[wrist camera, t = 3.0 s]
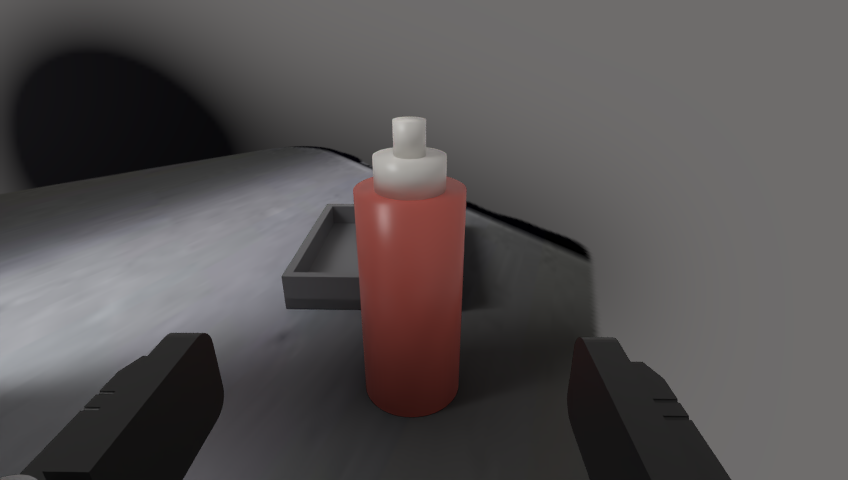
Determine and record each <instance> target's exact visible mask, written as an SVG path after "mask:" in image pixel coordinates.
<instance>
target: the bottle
mask: <svg viewBox="0 0 848 480" xmlns="http://www.w3.org/2000/svg"><path fill="white" fill-rule="evenodd" d="M392 123H393V148H387V149H383V150H379V151H377V152H375V153H374V154H373V156H372V159H373V177H372V178H369V179H366V180H363V181H361V182H360V183H358V184H357V185H356V186H355V187H354V189H353V194H354V209H355V225H356V240H357V255H358V270H359V285H360V300H361V316H362V331H363V346H364V361H365V376H366V390H367V393H368V396H369V398H370V399H371V401H372V402H373V403H374V404H375V405H376V406H377V407H379V408H380V409H382V410H383V411H385V412H388V413H390V414H393V415H396V416H402V417H421V416H426V415H430V414H433V413H436V412H438V411H440V410H441V409H443V408H445V407H446V406H447V405H448V404H450V402H451V401H452V400H453V399H454V397H455V396H456V394H457V391H458V384H459V360H460V335H461V311H462V287H463V262H464V238H465V214H466V187H465V185H464V184H463V183H461V182H460V181H458V180H456V179H453V178H450V177H447V176H446V172H447V154H446V153H445V152H443V151H441V150H438V149H433V148H427V147H426V119H425V118H421V117H398V118H394V119H392Z"/></svg>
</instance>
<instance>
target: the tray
mask: <svg viewBox="0 0 848 480" xmlns="http://www.w3.org/2000/svg"><path fill="white" fill-rule="evenodd" d="M282 283H283V290H284V296H285V303H286V308H294V309H361V300H360V285H359V270H358V255H357V240H356V225H355V209H354V204H327V205H326V207H325V208H324V210H323V212H322V213H321V215H320V216H319V218H318V220H317V221H316V223H315V224H314V226H313V227H312V229H311V231H310V232H309V234H308V235H307V237H306V239H305V240H304V242H303V243H302V245H301V246H300V248H299V250H298V251H297V253H296V254H295V256H294V258H293V259H292V261H291V262H290V264H289V265H288V267H287V269H286V270H285V272H284V273H283V275H282Z"/></svg>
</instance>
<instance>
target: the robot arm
mask: <svg viewBox="0 0 848 480" xmlns="http://www.w3.org/2000/svg"><path fill="white" fill-rule="evenodd" d="M223 399H224V390H223V384H222V380H221V376H220V372H219V367H218V363H217V359H216V354H215V350H214V346H213V342H212V339H211V337H210V336H209V335H208V334H206V333H170V334H168V335H167V336H166V337H164V339H163V340H162V341H161V342H160V343H159V344H158V345H157V346H156V347H155V348H154V349H153V351H152V352H151V353H150V354H149V355H148V356H142V357H141V358H139V359H137V360H136V361H134V362H133V363H131V364H130V365H128V366H126V367H125V368H123V369H122V370H120V371H119V372H117V373H116V374H115V376H114V377H113V378H112V379H111V380H110V381H109V382H108V383H107V384H106V385H105V386H104V387H103V388H102V389H101V390H100V394H99V395H95V396H94V397H93V398H92V399H91V401H90V402H89V403H88V404H87V405H86V406H85V409H84V411H80V412H79V413H78V414H77V415H76V416H75V417H74V418H73V419H72V420H71V421H70V422H69V423H68V424H67V426H66V427H65V428H64V429H63V430H62V431H61V432H60V433H59V434H58V435H57V436H56V437H55V438H54V439H53V440H52V441H51V442H50V443H49V444H48V445H47V446H46V447H45V448H44V450H43V451H42V452H41V453H40V454H39V455H38V456H37V457H36V458H35V459H34V460H33V461H32V462H31V463H30V464H29V465H28V466H27V467H26V468H25V469H24V470H23V471H22V472H21V473H20V474H19V475H11V476H5V477H1V478H0V480H183V478H184V476H185V475H186V473H187V471H188V469H189V468H190V466H191V464H192V462H193V461H194V459H195V457H196V456H197V454H198V452H199V450H200V449H201V447H202V445H203V443H204V442H205V440H206V438H207V437H208V435H209V433H210V431H211V430H212V428H213V426H214V424H215V423H216V421H217V419H218V417H219V415H220V413H221V409H222V405H223ZM567 405H568V414H569V419H570V423H571V426H572V429H573V432H574V435H575V438H576V441H577V444H578V446H579V449H580V452H581V455H582V458H583V461H584V464H585V467H586V469H587V472H588V475H589V478H590V480H731V479H730V477H729V476H728V474H727V473H726V471H725V470H724V468H723V467H722V465H721V464H720V462H719V461H718V459H717V458H716V456H715V455H714V453H713V452H712V450H711V449H710V447H709V446H708V445H707V443H706V441H705V440H704V438H703V437H702V435H701V434H700V432H699V431H698V429H697V428H696V426H695V425H694V423H693V422H692V420H689V416H688V414H687V413H686V411H685V410H684V408H683V407H682V405H681V404H680V403H678V402H677V398H676V396H675V395H674V393H673V392H672V390H671V389H670V387H669V386H668V384H667V383H666V381H665V380H664V379H663V378H662V377H661V376H660V375H658V374H657V373H656V372H655V371H653V370H652V369H651V368H650V367H648V366H647V365H646V364H645V363H643V362H630V360H629V359H628V357H627V355H626V354H625V352H624V350H623V349H622V347H621V345H620V343H619V342H618V340H617V339H616V338H609V337H607V338H606V337H579V338H577V340H576V342H575V347H574V353H573V360H572V367H571V373H570V380H569V387H568V394H567Z"/></svg>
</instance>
